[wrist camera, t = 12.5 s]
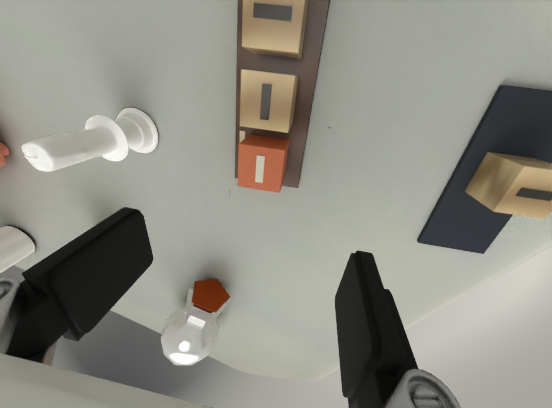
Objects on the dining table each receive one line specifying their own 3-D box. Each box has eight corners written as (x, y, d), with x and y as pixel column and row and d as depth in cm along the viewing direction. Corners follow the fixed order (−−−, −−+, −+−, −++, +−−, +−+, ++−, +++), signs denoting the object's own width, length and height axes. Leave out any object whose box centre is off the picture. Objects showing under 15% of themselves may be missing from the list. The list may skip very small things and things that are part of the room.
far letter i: (253, 71, 22) (240, 68, 18) (298, 77, 21) (295, 75, 17) (251, 119, 24) (239, 126, 20) (292, 125, 24) (287, 133, 20)
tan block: (487, 151, 22) (526, 166, 18) (534, 158, 22) (584, 174, 18) (464, 191, 24) (493, 212, 20) (507, 197, 24) (545, 220, 20)
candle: (111, 131, 28) (-12, 158, 17) (128, 97, 25) (-2, 105, 15) (147, 160, 29) (54, 204, 18) (166, 131, 27) (72, 161, 16)
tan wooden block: (257, -10, 19) (243, -35, 15) (309, -5, 19) (308, -29, 15) (254, 53, 21) (241, 46, 17) (301, 58, 21) (298, 52, 17)
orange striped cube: (250, 134, 25) (238, 143, 21) (289, 139, 24) (284, 150, 20) (248, 171, 27) (237, 186, 23) (284, 177, 27) (279, 193, 23)
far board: (240, -45, 18) (238, -49, 18) (336, -37, 18) (336, -41, 17) (236, 176, 28) (234, 178, 28) (297, 186, 28) (297, 188, 27)
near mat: (499, 85, 20) (503, 85, 20) (595, 96, 19) (602, 96, 19) (416, 240, 29) (418, 242, 28) (481, 251, 28) (483, 254, 28)
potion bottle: (193, 315, 46) (216, 264, 41) (218, 356, 42) (248, 306, 36) (146, 338, 39) (167, 281, 33) (170, 392, 34) (199, 336, 29)
